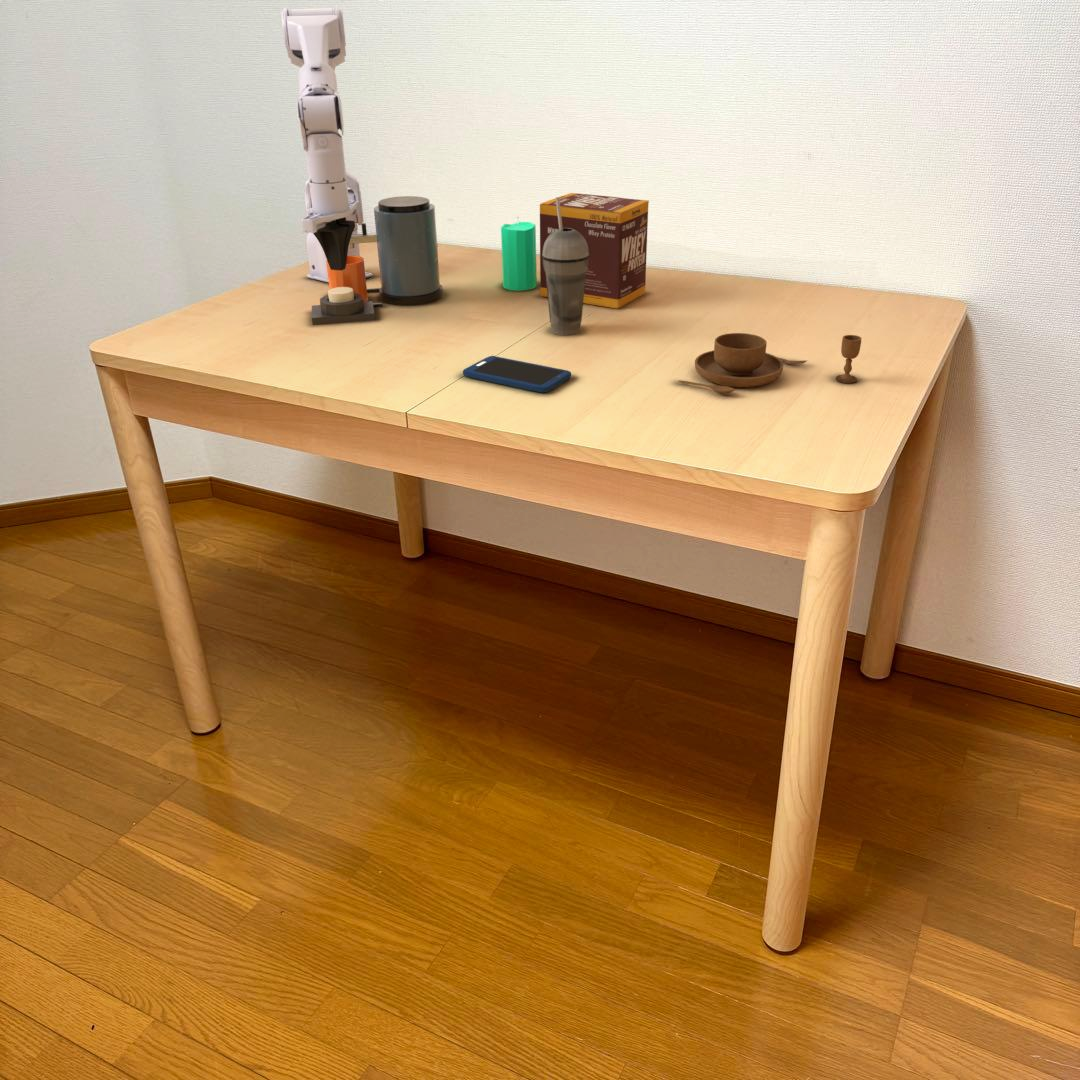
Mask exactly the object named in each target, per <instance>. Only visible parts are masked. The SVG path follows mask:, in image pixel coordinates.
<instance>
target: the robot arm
mask: <svg viewBox="0 0 1080 1080" xmlns="http://www.w3.org/2000/svg"><path fill="white" fill-rule="evenodd" d="M343 13H344V12H343V10H342V9H341V8H340V6H335V7H322V8H321V7H320V8H318V7H316V8H287V7H285V8H283V9H282V11H281V15H280V16H281V26H282V34H283V41H284V47H285V49H286V52H287V58H289V59H290V64H291V65H294V66H296V67H299V70H298V74H297V75H298V76H297V78H298V94H299V95H298V96H299V100H298V99H296V114H297V124H298V129H299V132H300V135H301V139H302V147H303V151H305V161H306V170H307V177H308V179H307V180H305V184H304V203H305V212H306V216H305V217H303V218H301V219H300V222H301V223H300V224H301V231H302V233H308V234H307V237H306V248H307V249H306V251H307V259H308V265H309V273H307V274H306V277H307V278H309V279H312V280H317V281H320V282H325V283H329V280H328V272H327V264H326V260H327V261H328V264H329V267H330V269H331V270H340V271H341V270H344V269H345V268H346V262H347V255H353V256H360V257H361V252H360V251H361V250H360V243H354V245H355V248H348V247H349V242H350V239H351V235H353V234H359V233H358V229H359V228H358V227H359V226H362V223H365V221H364V211H363V201H362V193H361V187H360V182H359V181H358V178H356V177H355V176H354V175H352V174H351V173H350V172H348V171H346V162H345V151H344V141H343V136H344V133H345V132H344V131H345V127H344V125H345V124H344V116H343V115H344V114H343V106H342V100H341V97H340V95H339V91H338V82H337V75H336V72H335V71H336V68H337V67H338V66H340V65H342V64H343V63H345V62H346V58H345V57H346V56H347V52H346V46H347V45H346V44H347V43H346V33H345V23H344V14H343ZM339 130H340V131H341V134H340V133H339ZM365 276H366V279H367V278H370V277H372V276H373V273H372V272H369V271H365Z"/></svg>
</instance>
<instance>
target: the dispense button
mask: <svg viewBox="0 0 1080 1080" xmlns="http://www.w3.org/2000/svg"><path fill="white" fill-rule="evenodd" d="M327 295H329V302H334V303H344V302H349V301H353V300H354V293H353V289H352V288H349V287H337V288H332V289H329V290H327Z"/></svg>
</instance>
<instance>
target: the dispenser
mask: <svg viewBox="0 0 1080 1080" xmlns="http://www.w3.org/2000/svg"><path fill="white" fill-rule="evenodd" d="M373 216H374V224H375V226H374V227H375V232H372V233H371V232H370V233H368V232H367V224H366V222H363V223H362V225H361V233H358V234H353V235H351V239H350V242H349V247H348V248H355V245H354V243H359V244H368V243H376V246H377V256H378V267H379V277H380V278H379V279H380V287H375V288H367V294H370V293H372V294H373V293H379V299H380V301H381V302H375V303H374V302H373V306H374V309H376V308H383V306H384V305H383V303H384V304H387V305H391V306H398V307H413V306H416V307H417V306H424V305H429V304H432V303H436V302H437V301H440V300H441V299H443V297H444V291H443V290H444V289H443V286H442V284H441V281H440V265H439V252H438V250H439V249H438V237H437V236H438V235H437V222H436V207H435V205H434V204H433V203H430V199H429V198H427V197H424V196H418V195H417V196H415V195H402V196H401V195H400V196H392V197H387V198H383V199H380V200H379V201H378V202H377V206H375V207H374V208H373Z"/></svg>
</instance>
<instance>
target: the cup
mask: <svg viewBox="0 0 1080 1080" xmlns="http://www.w3.org/2000/svg"><path fill="white" fill-rule="evenodd" d="M326 264H327V272H328V280H329V282H328V287H329V290H330V289H332V288H337V287H349V288H352V289H353V293H357V294H360V295H362V296H363V302H369V297H368V293H367V289H368V287H367V286H368V285H367V278H366V276H365V272H366V267H365V259H364V257H362V256H361V255H360V256H353V255H347V262H346V268H345V269H344V270H341V271H340V270H331V269H330V267H329V264H328V261H327V260H326Z"/></svg>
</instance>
